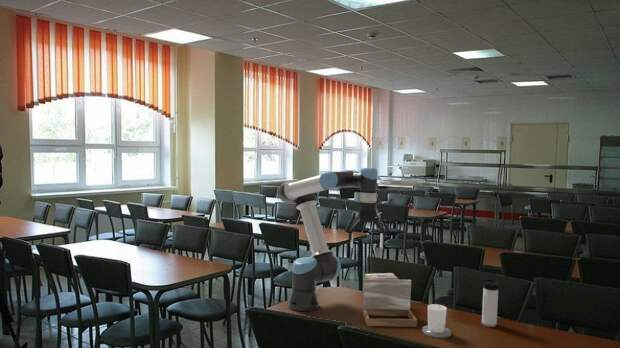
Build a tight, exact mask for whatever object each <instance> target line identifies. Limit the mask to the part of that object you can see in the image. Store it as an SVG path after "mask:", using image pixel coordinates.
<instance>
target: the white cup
mask: <svg viewBox="0 0 620 348" xmlns="http://www.w3.org/2000/svg"><path fill="white" fill-rule="evenodd" d="M446 320H447V306H445V305H442V304H437V303H434V304H433V303H432V304H428V305H427V325H428V330H430V331H431V332H435V333H442V332H444V329H445V326H446Z"/></svg>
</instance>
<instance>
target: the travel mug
mask: <svg viewBox="0 0 620 348" xmlns="http://www.w3.org/2000/svg"><path fill="white" fill-rule="evenodd" d="M482 289H483V290H482V292H483V293H482V306H481V307H482V310H481V324H482V325H483V326H484V327H489V328H495V327H497V323H498V306H499V305H498V301H499V282H498V281H496V280H494V279H491V278H489V279H485V280H483V288H482Z"/></svg>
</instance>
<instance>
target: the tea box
mask: <svg viewBox="0 0 620 348" xmlns="http://www.w3.org/2000/svg"><path fill="white" fill-rule="evenodd" d="M364 279H386V280H399V277H398V276H396V275H395V274H394V273H393V272H384V273H383V272H382V273H381V272H379V273H376V272H375V273H364Z"/></svg>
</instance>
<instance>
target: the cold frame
mask: <svg viewBox="0 0 620 348" xmlns="http://www.w3.org/2000/svg"><path fill="white" fill-rule="evenodd" d="M411 293H412V280H411V279H398V280H386V279H365V278H364V280H363V303H362V305H363V307H362V309H363V310H362V315H363V319H364V321H365V324H366V326H367V327H405V328H406V327H407V328H408V327H409V328H410V327H411V328H412V327H413V328H414V327H415V328H416V327H418V319H417V318H416V316H415V315H414V313H413V312H412V311H411V297H412V296H411ZM370 316H380V317H381V316H385V317H387V316H391V317H392V316H394V317H395V316H396V317H397V316H398V317H408V318H370Z"/></svg>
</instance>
